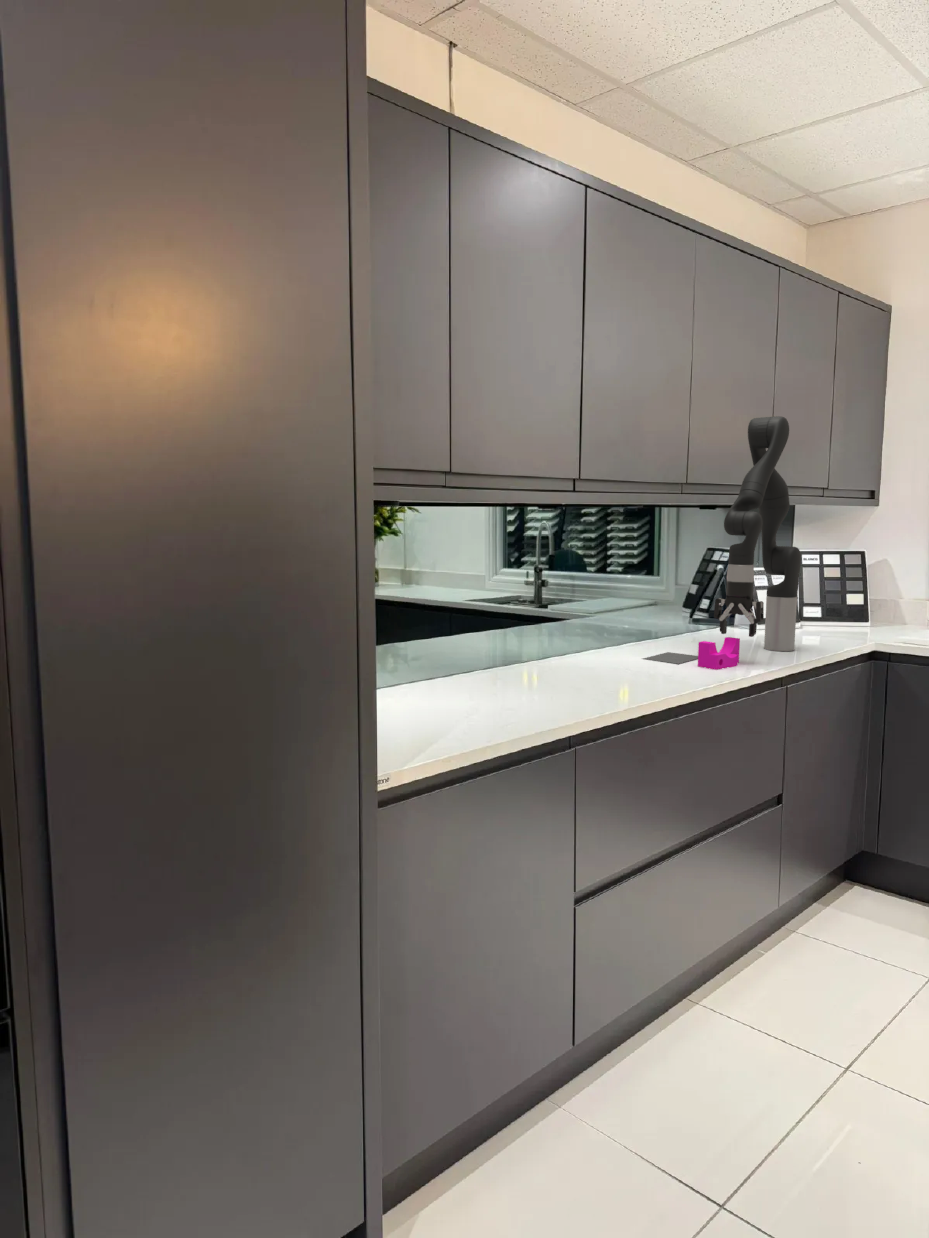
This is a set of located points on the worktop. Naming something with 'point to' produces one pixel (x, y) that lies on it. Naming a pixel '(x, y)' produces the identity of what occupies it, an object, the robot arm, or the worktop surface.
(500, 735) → the worktop surface
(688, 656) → the rubber mat
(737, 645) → the magenta pipe clamp
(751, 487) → the robot arm
